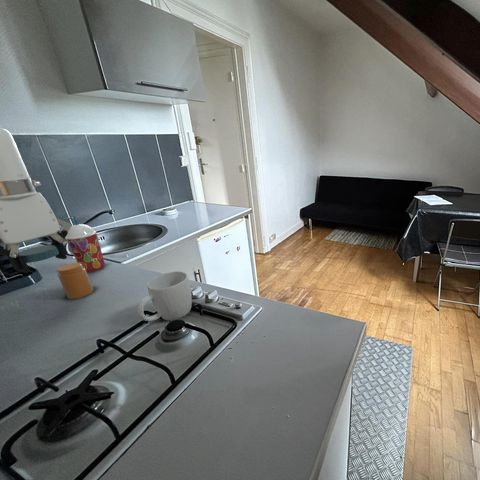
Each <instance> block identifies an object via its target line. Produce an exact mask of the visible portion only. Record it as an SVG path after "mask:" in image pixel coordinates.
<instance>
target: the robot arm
mask: <svg viewBox="0 0 480 480" xmlns="http://www.w3.org/2000/svg"><path fill="white" fill-rule="evenodd" d="M41 186H42V184H41V182H40V180H33V178H31V176H30V174H29V172H28V170H27V166H26V164H25V163H24V160H23V158H22V155H21V153H20V151H19V149H18V145H17V143H16V141H15V139H14V137H13V135H12V133H11V132H10V131H9V130H8V129H6V128H3V127H0V244H3V248H2V247H0V255H1V256H4V257H7V258H8V260H9V262H10V264H11V267H12V269H14V271H18V272H19V273H25V274H26V273H28V272H30V268H29V266H28V263H26V262H25V260H24V258H23V256H21V255H19V254H18V253H19V249H20V244H21V243H25V242H30V241H33V240H36V239H40V238H45V237H46V238H48V239H49V241H51V242H50V244H49V245H56V246H57V248H58V250H59V254H58V255H56V256H54V257H55V258H56V259H60V260H66V259H68V257H67V252H68V251H67V250H66V247H65V245H64V243H65V240H66V239H65V237H66V236H67V234H68V231H69V229H70V228H71V226H73V224H72V223H71V222H68V221H66V220H64V219H60V218H59V217H57V216H56V215H55V213H54V211H53V209H52V207H51V206H50V204H49V203H48V201H47V199H46V198H45V197H44V196H43V194H42V192H39V191H37V188H38V187H41Z"/></svg>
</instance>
